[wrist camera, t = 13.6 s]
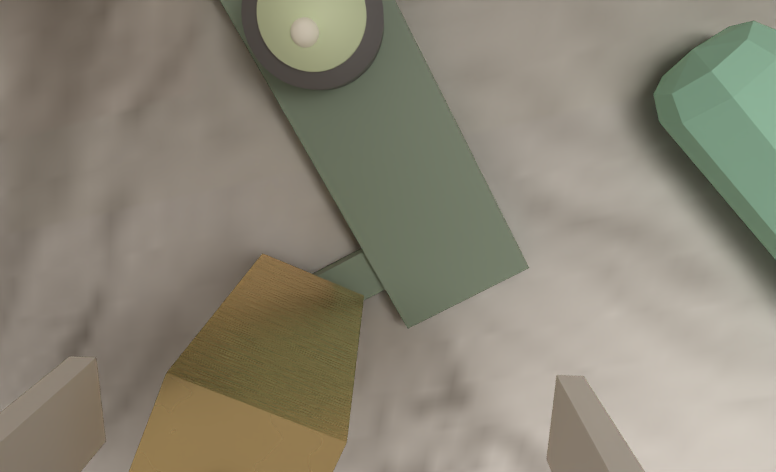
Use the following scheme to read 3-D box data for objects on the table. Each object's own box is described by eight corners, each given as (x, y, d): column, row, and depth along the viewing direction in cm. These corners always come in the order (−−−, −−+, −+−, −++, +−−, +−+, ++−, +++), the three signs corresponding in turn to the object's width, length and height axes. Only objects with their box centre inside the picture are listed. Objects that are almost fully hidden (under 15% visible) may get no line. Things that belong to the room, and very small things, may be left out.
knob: (267, 247, 24) (157, 383, 13) (364, 287, 25) (344, 455, 13) (231, 336, 25) (99, 539, 14) (325, 374, 26) (274, 601, 14)
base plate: (215, -352, 20) (168, -475, 16) (522, 260, 25) (550, 292, 21) (-40, -177, 21) (-147, -247, 17) (305, 369, 27) (290, 420, 22)
